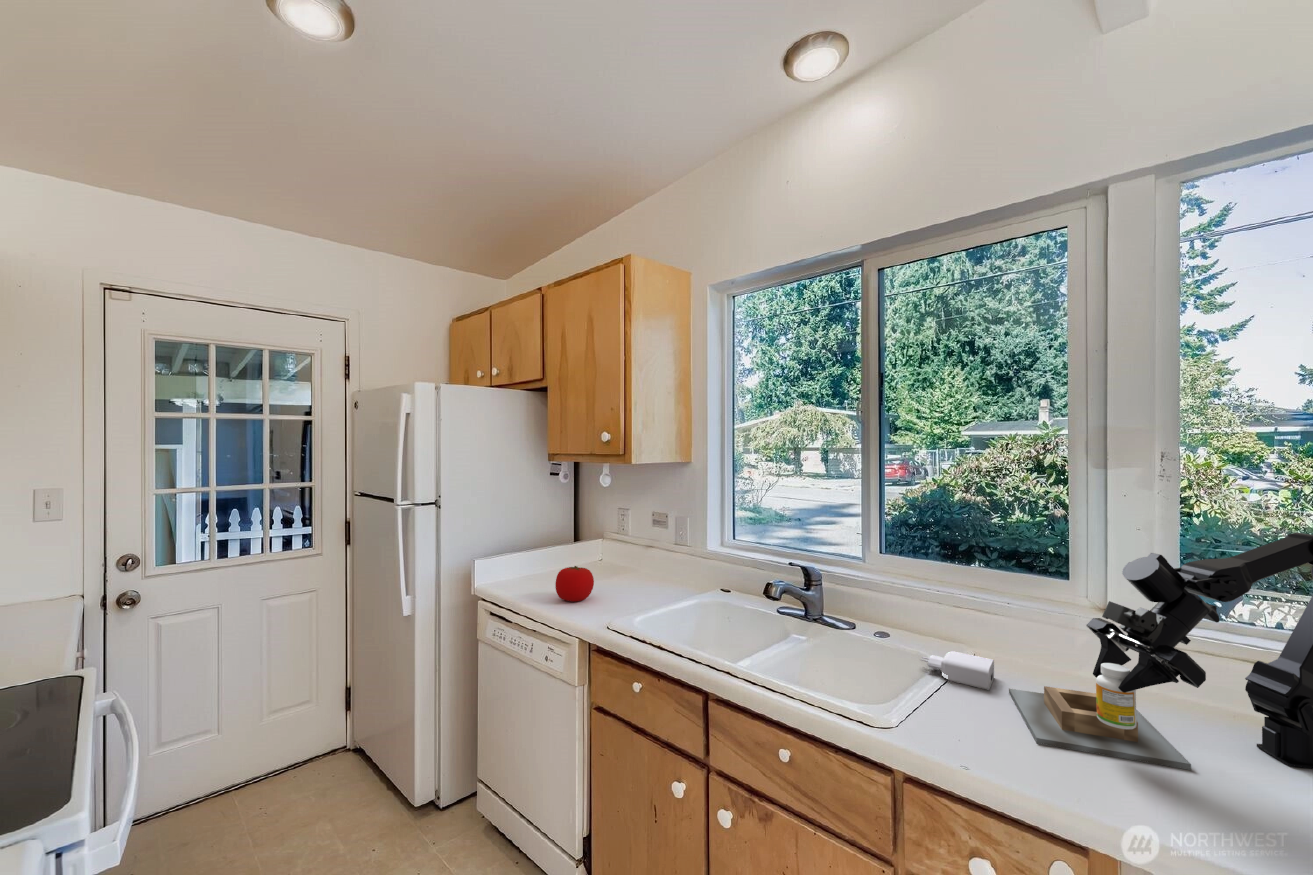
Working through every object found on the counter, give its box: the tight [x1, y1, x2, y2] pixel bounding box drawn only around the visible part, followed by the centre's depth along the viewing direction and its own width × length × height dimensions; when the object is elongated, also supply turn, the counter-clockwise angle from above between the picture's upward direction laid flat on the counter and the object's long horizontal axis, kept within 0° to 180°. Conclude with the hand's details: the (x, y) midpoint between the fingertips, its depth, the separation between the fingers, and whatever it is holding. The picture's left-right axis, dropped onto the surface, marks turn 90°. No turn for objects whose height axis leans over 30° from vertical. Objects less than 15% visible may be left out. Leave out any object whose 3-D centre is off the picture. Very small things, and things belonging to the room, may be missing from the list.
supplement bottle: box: [1095, 663, 1137, 729], centre depth 97 cm, size 5×5×10 cm
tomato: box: [554, 565, 595, 603], centre depth 192 cm, size 13×14×12 cm
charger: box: [919, 650, 995, 691], centre depth 130 cm, size 5×9×15 cm
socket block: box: [1008, 685, 1192, 771], centre depth 107 cm, size 22×22×4 cm
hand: (1107, 683), depth 97 cm, fingers closed on supplement bottle, 5 cm apart
